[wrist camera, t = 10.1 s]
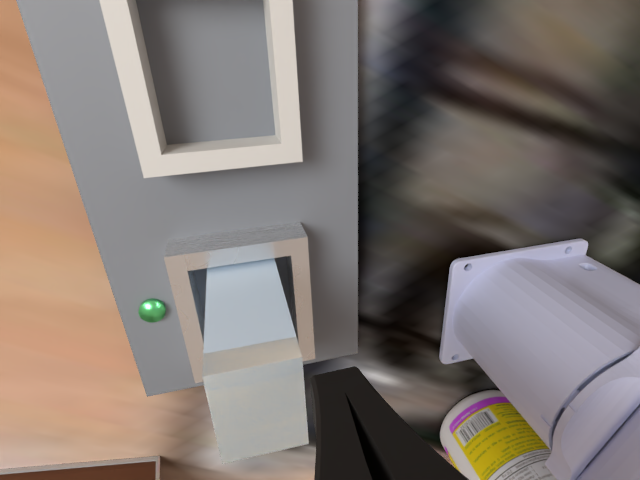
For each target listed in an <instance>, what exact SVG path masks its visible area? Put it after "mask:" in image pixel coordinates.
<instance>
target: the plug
mask: <svg viewBox="0 0 640 480" xmlns="http://www.w3.org/2000/svg"><path fill="white" fill-rule="evenodd" d="M202 378H203V382H204V386H205V391H206V395H207V400H208V404H209V408H210V413H211V417H212V422H213V426H214V430H215V435H216V439H217V444H218V448H219V452H220V457H221V461H222V464H226V463H230V462H234V461H238V460H242V459H247V458H251V457H255V456H259V455H263V454H267V453H271V452H276V451H280V450H284V449H288V448H292V447H296V446H301V445H305V444H309V442H308V429H307V415H306V402H305V388H304V375H303V361H302V355H301V351H300V348H299V344H298V340H297V337H296V333H295V330H294V326H293V323H292V319H291V316H290V312H289V309H288V305H287V302H286V298H285V294H284V291H283V287H282V284H281V280H280V277H279V273H278V270H277V266H276V263H275V259H274V258H271V259H265V260H258V261H251V262H245V263H238V264H231V265H225V266H218V267H211V268H207V280H206V303H205V326H204V349H203V372H202Z"/></svg>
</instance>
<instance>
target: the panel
mask: <svg viewBox="0 0 640 480" xmlns="http://www.w3.org/2000/svg"><path fill="white" fill-rule="evenodd" d="M16 1H17V4H18V7H19V10H20V13H21V16H22V19H23V22H24V25H25V28H26V31H27V34H28V37H29V40H30V43H31V46H32V49H33V52H34V55H35V59H36V62H37V65H38V68H39V71H40V74H41V77H42V80H43V83H44V86H45V89H46V92H47V95H48V98H49V101H50V104H51V107H52V110H53V113H54V116H55V119H56V122H57V125H58V128H59V131H60V134H61V137H62V140H63V143H64V146H65V149H66V152H67V155H68V158H69V161H70V164H71V167H72V170H73V174H74V177H75V180H76V183H77V186H78V189H79V192H80V195H81V198H82V201H83V204H84V207H85V210H86V213H87V216H88V219H89V222H90V225H91V228H92V231H93V234H94V237H95V240H96V243H97V246H98V249H99V252H100V255H101V258H102V261H103V264H104V267H105V270H106V273H107V276H108V279H109V282H110V285H111V289H112V292H113V295H114V298H115V301H116V304H117V307H118V310H119V313H120V316H121V319H122V322H123V325H124V328H125V331H126V334H127V337H128V340H129V343H130V346H131V349H132V352H133V355H134V358H135V361H136V364H137V367H138V370H139V373H140V376H141V379H142V382H143V385H144V388H145V391H146V394H147V397H148V396H153V395H157V394H162V393H167V392H172V391H177V390H182V389H187V388H192V387H196V386H201V385H204V382H199V383H195V381H194V377H193V373H192V369H191V365H190V361H189V357H188V353H187V349H186V345H185V341H184V337H183V333H182V329H181V325H180V321H179V317H178V313H177V309H176V305H175V301H174V297H173V293H172V289H171V285H170V281H169V277H168V273H167V269H166V265H165V261H164V254H165V250H166V246H167V243H168V239H174V238H182V237H189V236H197V235H204V234H212V233H219V232H226V231H234V230H241V229H249V228H256V227H264V226H271V225H279V224H286V223H294V222H300V223H301V225H302V227H303V229H304V231H305V233H306V235H307V237H308V252H309V268H310V283H311V299H312V315H313V331H314V346H315V359H312V360H307V361H303V365H304V364H308V363H313V362H318V361H323V360H328V359H333V358H338V357H342V356H347V355H352V354H357V353H358V0H293V15H294V31H295V47H296V63H297V78H298V94H299V110H300V126H301V141H302V157H303V162H294V163H285V164H275V165H265V166H256V167H246V168H237V169H227V170H217V171H208V172H198V173H189V174H179V175H169V176H160V177H150V178H144V177H143V173H142V169H141V165H140V161H139V157H138V153H137V149H136V145H135V141H134V137H133V133H132V129H131V125H130V121H129V117H128V113H127V109H126V105H125V101H124V97H123V93H122V89H121V85H120V81H119V77H118V73H117V69H116V65H115V61H114V57H113V53H112V49H111V45H110V41H109V37H108V33H107V29H106V25H105V21H104V17H103V13H102V9H101V5H100V1H99V0H16ZM136 4H137V9H138V13H139V18H140V22H141V27H142V32H143V36H144V41H145V46H146V50H147V55H148V60H149V64H150V69H151V74H152V78H153V83H154V88H155V92H156V97H157V102H158V106H159V111H160V115H161V120H162V125H163V129H164V134H165V139H166V143H167V145H172V144H183V143H194V142H205V141H216V140H227V139H239V138H250V137H261V136H272V135H275V125H274V114H273V103H272V92H271V81H270V70H269V59H268V48H267V38H266V27H265V16H264V5H263V0H136ZM274 259H275V263H276V266H277V270H278V273H279V277H280V280H281V284H282V287H283V291H284V294H285V298H286V302H287V305H288V309H289V312H290V316H291V319H292V310H291V299H290V288H289V277H288V266H287V256H284V257H278V258H274ZM194 274H195V278H196V283H197V288H198V292H199V297H200V302H201V306H202V311H203V316H204V320H205V303H206V280H207V268H205V269H198V270H194ZM150 298H155V299H159V300H161V301H162V302H163V303H164V304H165V306H166V312H165V316H164V317H163V319H161V320H160V321H158V322H154V323H150V322H146V321H144V320H142V319H141V318H140V316H139V313H138V311H139V307H140V305H141V303H142V302H143V301H145V300H147V299H150ZM292 323H293V320H292Z"/></svg>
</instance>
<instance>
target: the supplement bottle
mask: <svg viewBox="0 0 640 480" xmlns="http://www.w3.org/2000/svg"><path fill="white" fill-rule="evenodd" d="M440 440H441V443H442V445H443V447H444V449H445V451H446V453H447V455H448V456H449V458H450V460H451V461H452V463H453V465H454V467H455V468H456V469H457V470H458V471H459V472H460V473H462V474H463V475H464V476H465V477H467V478H468V479H469V480H557V479H556V478H555V477H554V476H553V474H552V473H551V472H550V471H549V469H548V468H547V467H546V466H545V462H546V460H547V459H548V458H549V456H550V454H551V450H550V449H549V448H548V446H547V445H546V444H545V443H544V442H543V440H542V439H541V438H540V437H539V436H538V435H537V433H536V432H535V431H534V430H533V429H532V427H531V426H530V425H529V424H528V423H527V421H526V420H525V419H524V418H523V417H522V416H521V414H520V413H519V412H518V411H517V410H516V408H515V407H514V406H513V405H512V404H511V402H510V401H509V400H508V399H507V398H506V397H505V395H504V394H503V393H502V392H501V391H498V390H487V391H482V392H478V393H475V394H472V395H470V396H468V397H466V398H464V399H463V400H461V401H460V402H459V403H457V404H456V405H455V406H454V407H453V408H452V409H451V410H450V411H449V412H448V414H447V415H446V417H445V418H444V421H443V423H442V425H441V429H440Z"/></svg>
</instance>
